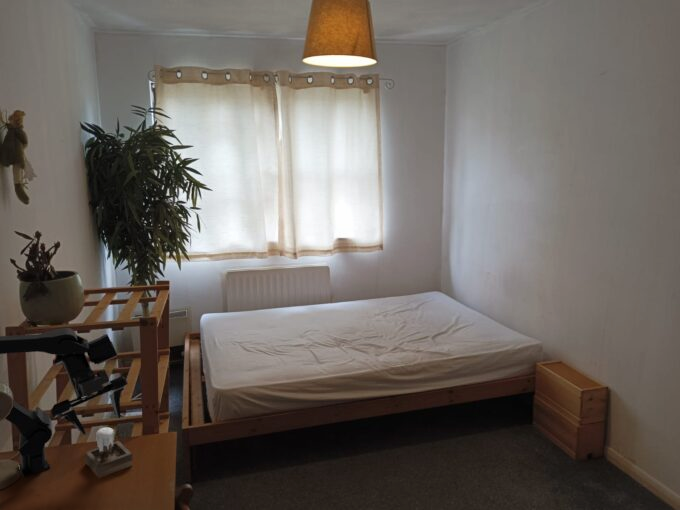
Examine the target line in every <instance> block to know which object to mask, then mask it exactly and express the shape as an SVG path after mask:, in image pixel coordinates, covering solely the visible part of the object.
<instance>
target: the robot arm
mask: <svg viewBox="0 0 680 510" xmlns="http://www.w3.org/2000/svg"><path fill="white" fill-rule="evenodd" d="M33 352H34V353H35V352H40V353H46V354H50V355H56V357H55V358H54V359H55V360H53V364H54V365H57V366H59V365H60V364H63V366H64V369H65V371H66V374H67V375H68V379H69V381H70V385H71V386H72V389H73V391H74V393H75V396H76V398H74V399H71V400H69V399H68V398H67V399H65V400H63V401H60V402H58V403H55V404H53V406H52V407H51V409H50V413H51V416H52V418H53V419H56V418H58V417H59V418H58V419H60V420H62V419H64V420H66V421H67V422H69V423H70V424H72V425H73V427H75V428H76V429H77V430H78V431H79V433H81V435H83V436H85V435H86V431H85V429H84V427H83V424H82V423H81V420H80V419H79V417H78V416H77V413H76V411H75V409H73V408H74V407H77V406H79V405H82V404H84V403H86V402H89V401H91V400H93V399H95V398H98V397H99V396H102V395H104V394H107V393H110V394H109V399H110V401H111V404H112V408H113V409H114V412H115V415H116V417H117V419H120V418H121V393H122V392H123V391H124V390H125V388H126V386H128V384H129V383H128V380H127V379H126V377H124V376H119V377H116V378H114V379H112V380H110V379H109V375H108V373H107V372H106V370H105V369H103V370H101V371H97V373H96V374H95V373H94V371H93V369H92V368H91V365H90V363H89V361H88V358H89V360H90V362H91V364H93V363H94V365H97V366H98V365H100V364H103V363H105V362H107V361H110V360H112V359H115V358H116V357H118V353H117V349H116V348H115V345H114V344H113V341H112V340H111V339H110V337H109V334H107V333H106V334H103V335H102V336H100V337H98V338H96V339H94V340H90V341H88V339H86V338H84V337H82V336H80V335H78V334H76V331H74V329H72V328H69V327H62V328H58V329H52V330H49V331H46V332H42V333H38V334H37V333H36V334H20V335H2V336H1V335H0V355H3V354H4V355H5V354H6V355H7V354H18V353H21V354H23V353H33ZM86 354H87V355H86ZM87 356H88V358H87ZM104 384H106V385H105V386H104ZM12 400H13V408H12V410H11V412H10V414H9V415H8V416H7V417H6V418H4V420H7V422H10V423H11V424H12V425H13V426H15V428H16V429H17V430H18V432H19V433H20V434H19V443H18V452H19V454H20V463H19V465H20V470H19V472H20V474H21V475H22V477H28V476H31V475H33V474H37V473H40V472H43V471H45V470H48V469H50V468H51V464H50V463H49V462H48V460H47V459H46V449H45V448H46V443H49V441H50V440H51V439H52V436H53V425H52V424H53V422H52V419H51V417H50V413H47V412H44V410H42V409H41V408H40V407H39V406H37V407H36V408H35V409H34V410H32V409H31V410H30V409H27V408H26V407H24V406H22V405H21V404H19V403H18V402H16V401H15V400H14V399H12Z"/></svg>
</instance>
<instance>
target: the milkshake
mask: <svg viewBox="0 0 680 510" xmlns="http://www.w3.org/2000/svg"><path fill="white" fill-rule="evenodd" d="M115 430H116V427H114V428H111V427H102V428H100V429H98V430H97V431H96V433H95V438H96V442H97V448H98V452H99V459H100V462H101V463H102V462H105V461H108V460H111V459H113V443H114V442H115Z"/></svg>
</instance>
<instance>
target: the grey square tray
mask: <svg viewBox="0 0 680 510" xmlns="http://www.w3.org/2000/svg"><path fill="white" fill-rule="evenodd" d="M85 464H86V465H87V466H88V468H89V469H90V470H91V471H92V473H93V474H94V475H95V476H96V477H97V478H98V479H100V478H103V477H106V476H108V475H111V474H114V473H117V472H119V471H122V470H124V469H126V468H129V467H131V466H133V454H132V453H131V451H130V450H129V449H128V448H127V447H125V446H124V444H122V443H121V441H119V440H117V441H114V443H113V459H111V460H108V461H105V462H102V463H101V462H100V459H99V452H98V447H95V448H93V449H90V450H87V451H85Z"/></svg>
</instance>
